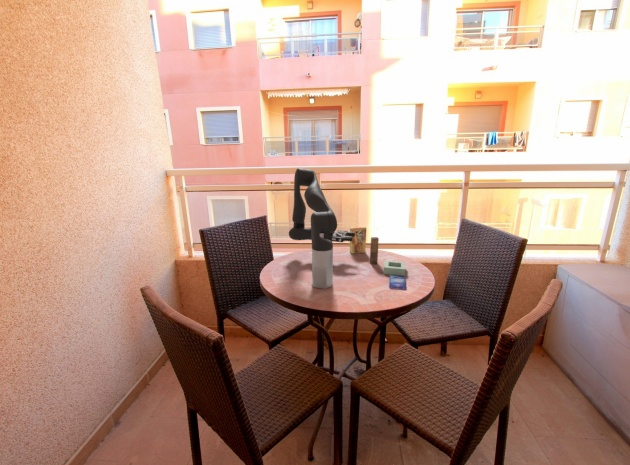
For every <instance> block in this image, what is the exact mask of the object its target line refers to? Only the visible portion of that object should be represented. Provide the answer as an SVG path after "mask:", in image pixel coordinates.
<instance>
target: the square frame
mask: <svg viewBox="0 0 630 465" xmlns="http://www.w3.org/2000/svg"><path fill="white" fill-rule="evenodd" d="M391 274H392V275H401V276H405V277H406V262H405V261H397V260H384V264H383V275H389V276H390V275H391Z"/></svg>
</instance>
